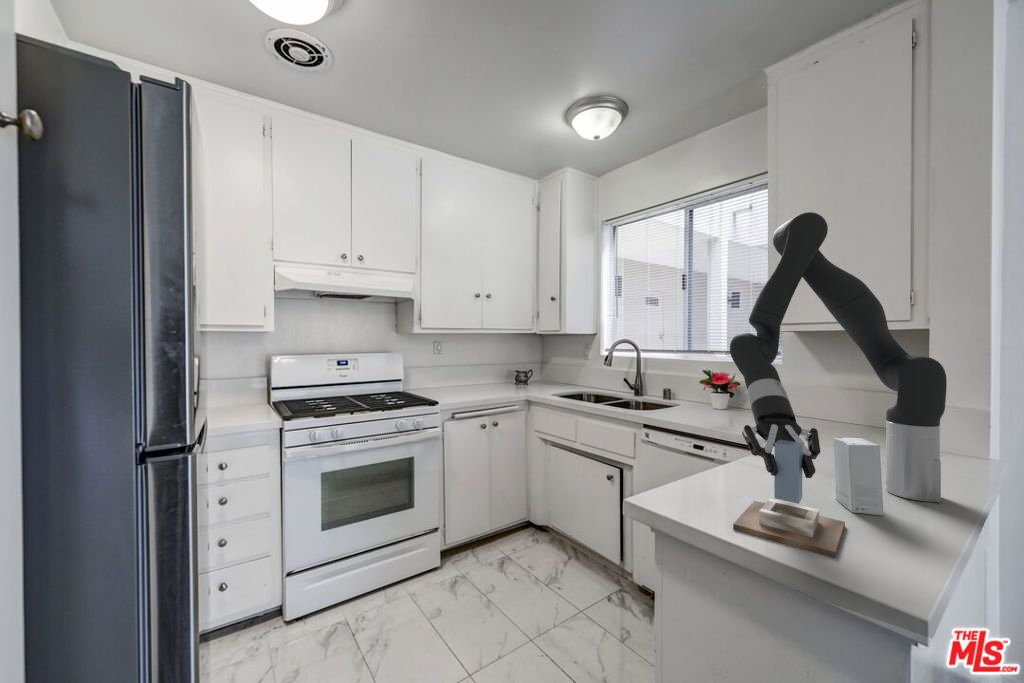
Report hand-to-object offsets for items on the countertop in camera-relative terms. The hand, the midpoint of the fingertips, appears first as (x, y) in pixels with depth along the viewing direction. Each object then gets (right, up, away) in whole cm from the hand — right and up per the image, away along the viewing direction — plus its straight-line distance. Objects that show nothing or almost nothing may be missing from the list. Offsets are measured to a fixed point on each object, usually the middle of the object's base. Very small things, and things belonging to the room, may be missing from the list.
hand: (792, 474), depth 80 cm
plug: (0, -5, +2) cm, 6 cm away
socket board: (+1, -11, +2) cm, 11 cm away
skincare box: (+22, -11, +12) cm, 27 cm away
